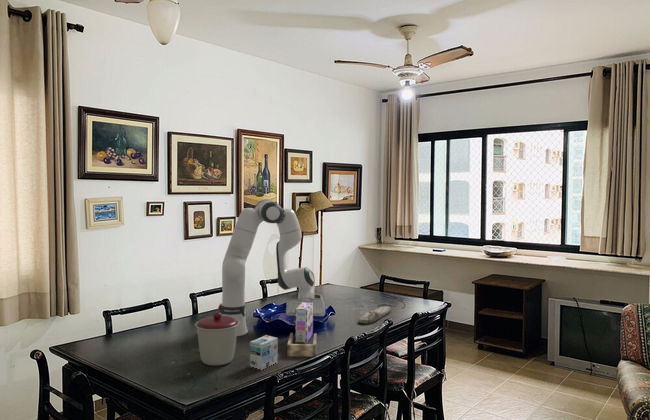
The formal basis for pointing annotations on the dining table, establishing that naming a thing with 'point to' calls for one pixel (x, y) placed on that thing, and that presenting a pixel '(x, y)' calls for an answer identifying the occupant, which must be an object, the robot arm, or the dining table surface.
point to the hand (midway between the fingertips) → (305, 322)
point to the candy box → (303, 322)
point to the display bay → (301, 347)
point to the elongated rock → (374, 315)
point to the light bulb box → (263, 352)
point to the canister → (217, 339)
